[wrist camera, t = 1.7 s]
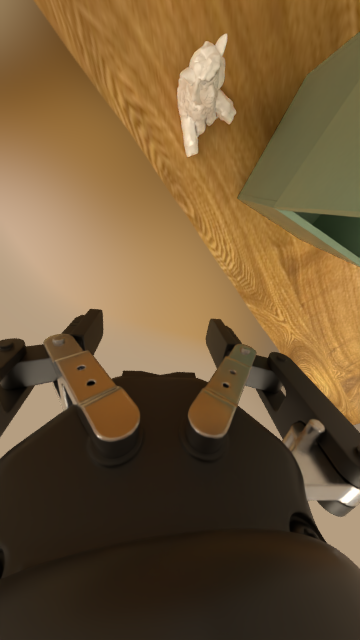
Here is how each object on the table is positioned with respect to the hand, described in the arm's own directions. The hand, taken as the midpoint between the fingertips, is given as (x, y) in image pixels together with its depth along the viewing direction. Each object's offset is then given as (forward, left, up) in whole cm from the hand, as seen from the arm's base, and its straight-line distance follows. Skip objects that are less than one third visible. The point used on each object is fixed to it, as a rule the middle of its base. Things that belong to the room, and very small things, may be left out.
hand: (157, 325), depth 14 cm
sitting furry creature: (-18, -3, -34) cm, 39 cm away
